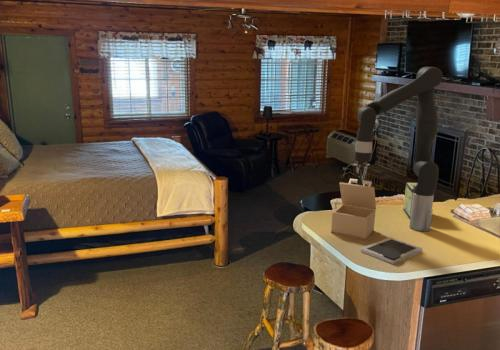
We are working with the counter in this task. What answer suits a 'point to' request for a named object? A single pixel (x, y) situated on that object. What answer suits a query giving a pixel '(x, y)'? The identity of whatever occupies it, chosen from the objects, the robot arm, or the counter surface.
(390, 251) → the picture frame
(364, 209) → the carton
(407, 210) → the protein box
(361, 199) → the lid flap
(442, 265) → the counter surface
